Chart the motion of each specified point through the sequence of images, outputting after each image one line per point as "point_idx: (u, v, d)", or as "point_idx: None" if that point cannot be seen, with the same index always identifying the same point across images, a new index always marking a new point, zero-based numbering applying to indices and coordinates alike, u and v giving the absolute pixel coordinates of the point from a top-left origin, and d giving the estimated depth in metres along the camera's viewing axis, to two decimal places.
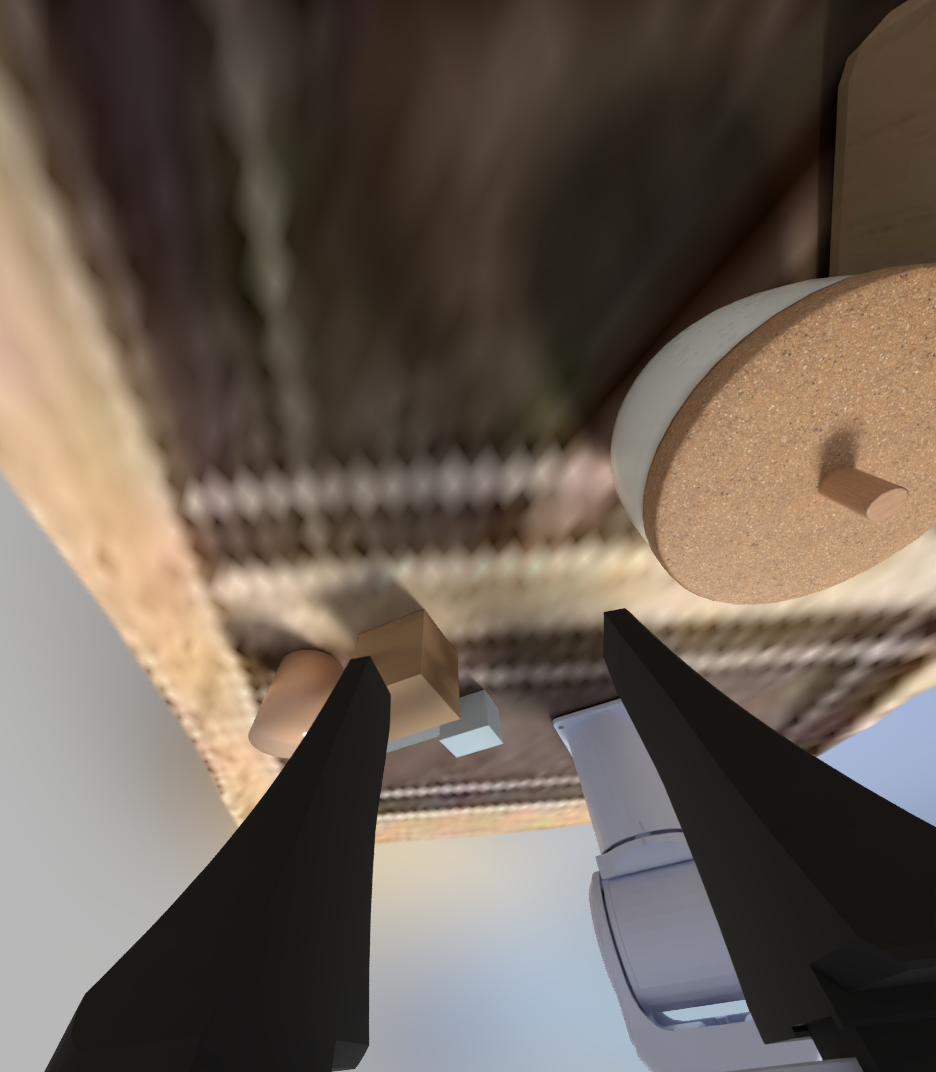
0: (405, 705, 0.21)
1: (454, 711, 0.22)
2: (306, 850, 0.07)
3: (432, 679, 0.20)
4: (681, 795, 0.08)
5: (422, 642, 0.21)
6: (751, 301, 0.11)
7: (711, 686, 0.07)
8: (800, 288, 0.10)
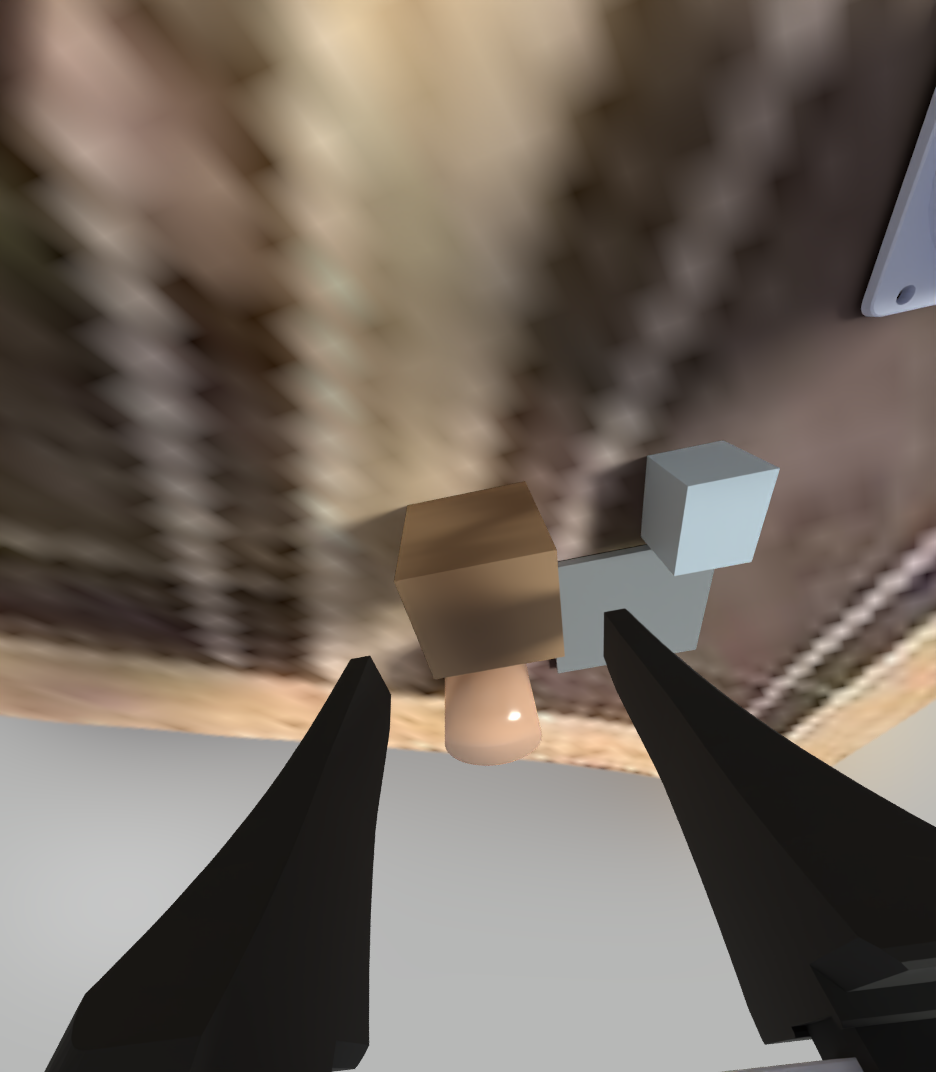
0: (473, 617, 0.12)
1: (529, 553, 0.11)
2: (306, 850, 0.07)
3: (436, 563, 0.11)
4: (681, 795, 0.08)
5: (401, 541, 0.13)
6: None
7: (711, 686, 0.07)
8: None
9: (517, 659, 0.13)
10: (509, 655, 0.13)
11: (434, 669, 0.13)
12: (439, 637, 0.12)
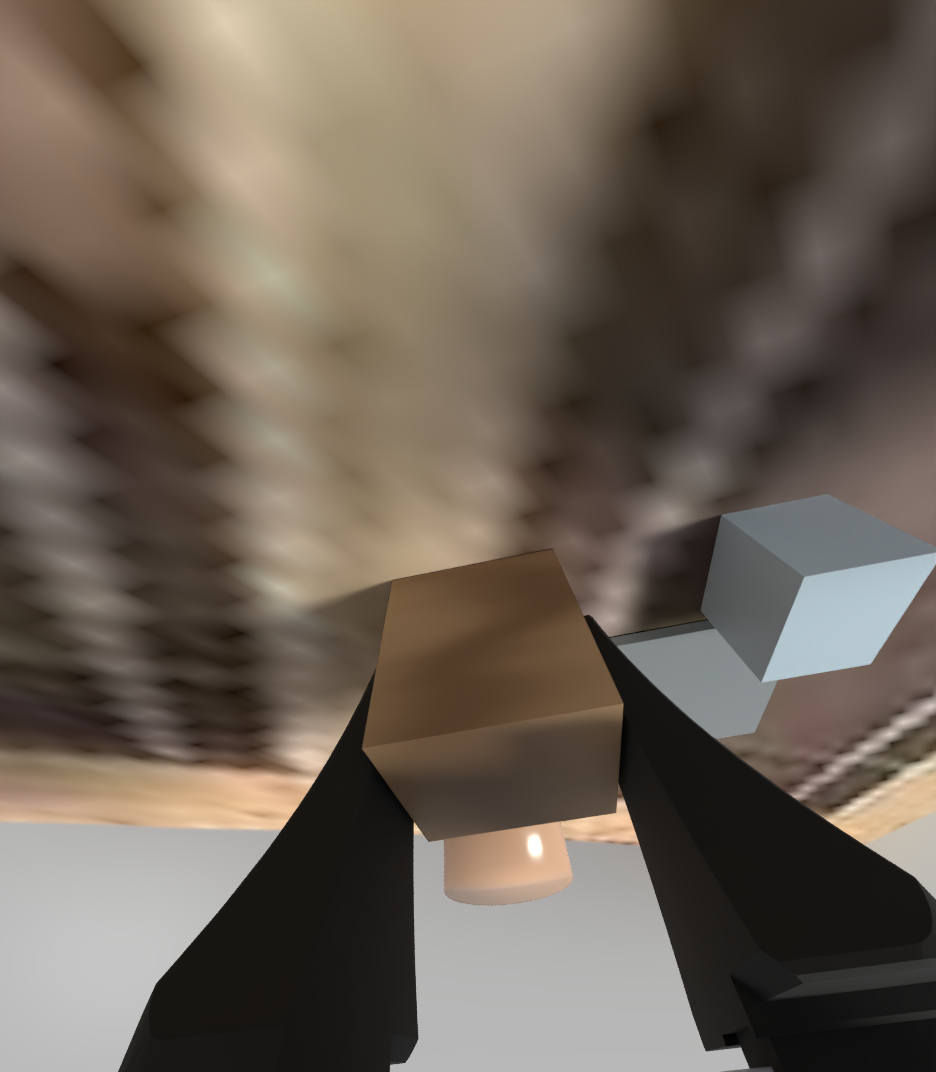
0: (486, 781, 0.08)
1: (579, 707, 0.07)
2: (360, 842, 0.06)
3: (430, 712, 0.07)
4: (634, 802, 0.08)
5: (379, 656, 0.09)
6: None
7: (661, 695, 0.07)
8: None
9: (548, 818, 0.09)
10: (536, 815, 0.09)
11: (428, 832, 0.09)
12: (436, 802, 0.08)
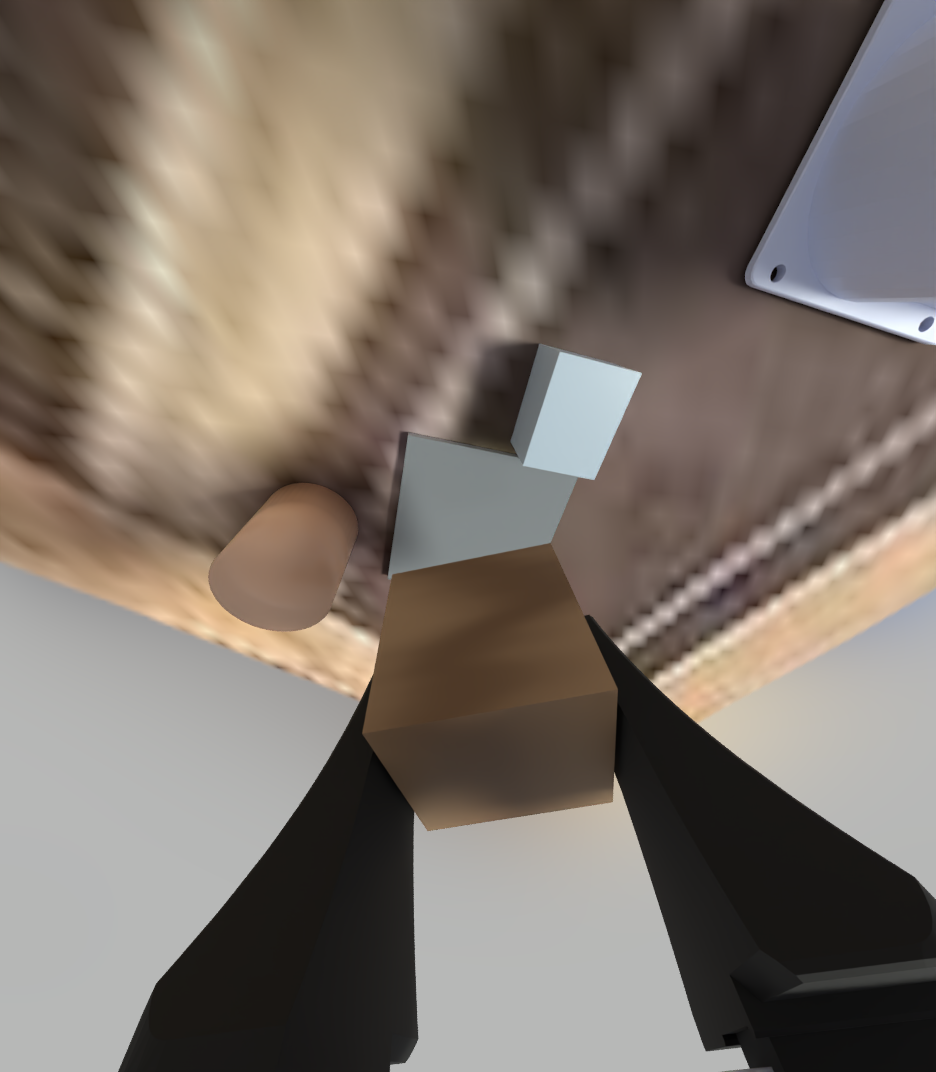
0: (484, 768, 0.08)
1: (574, 693, 0.07)
2: (360, 842, 0.06)
3: (430, 698, 0.07)
4: (634, 802, 0.08)
5: (379, 646, 0.09)
6: None
7: (661, 695, 0.07)
8: None
9: (545, 807, 0.09)
10: (534, 804, 0.09)
11: (427, 821, 0.09)
12: (434, 790, 0.08)
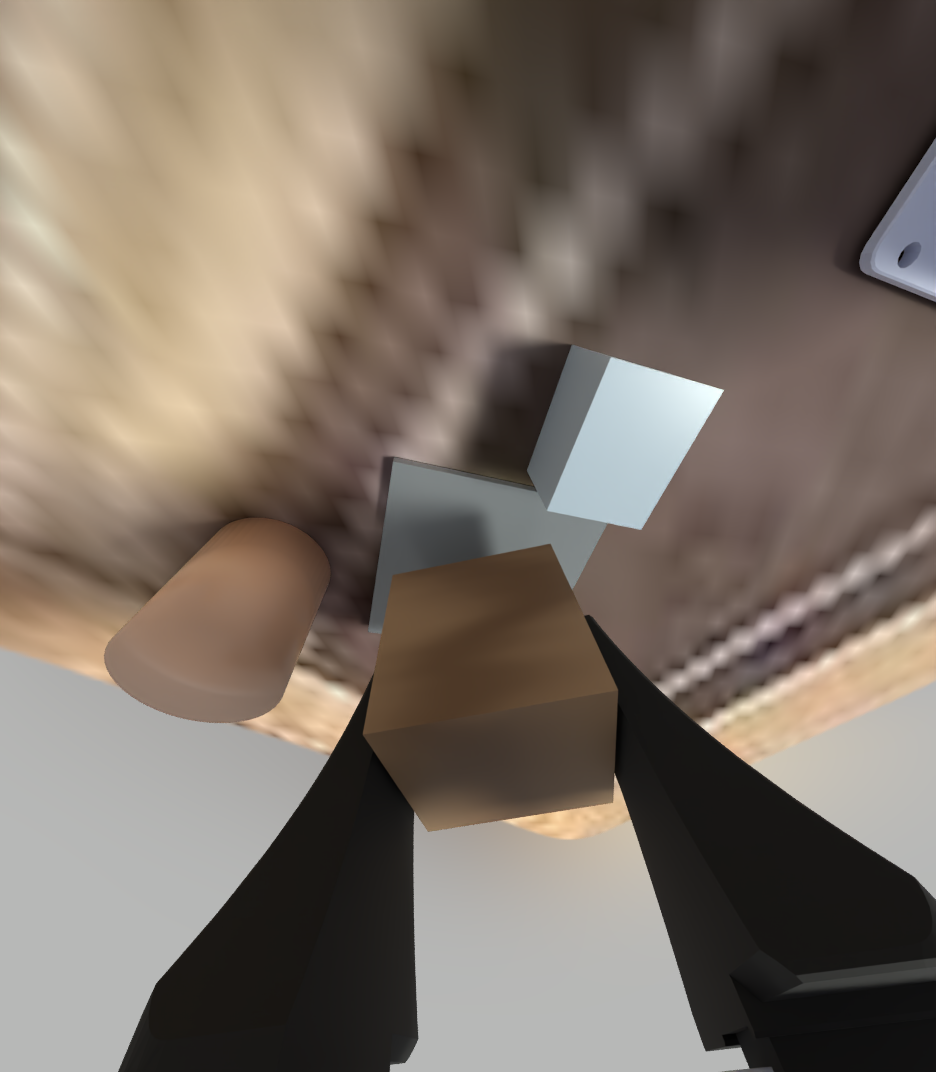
0: (485, 769, 0.08)
1: (575, 694, 0.07)
2: (360, 842, 0.06)
3: (430, 700, 0.07)
4: (634, 803, 0.08)
5: (380, 647, 0.09)
6: None
7: (661, 695, 0.07)
8: None
9: (546, 808, 0.09)
10: (534, 804, 0.09)
11: (428, 822, 0.09)
12: (435, 791, 0.08)
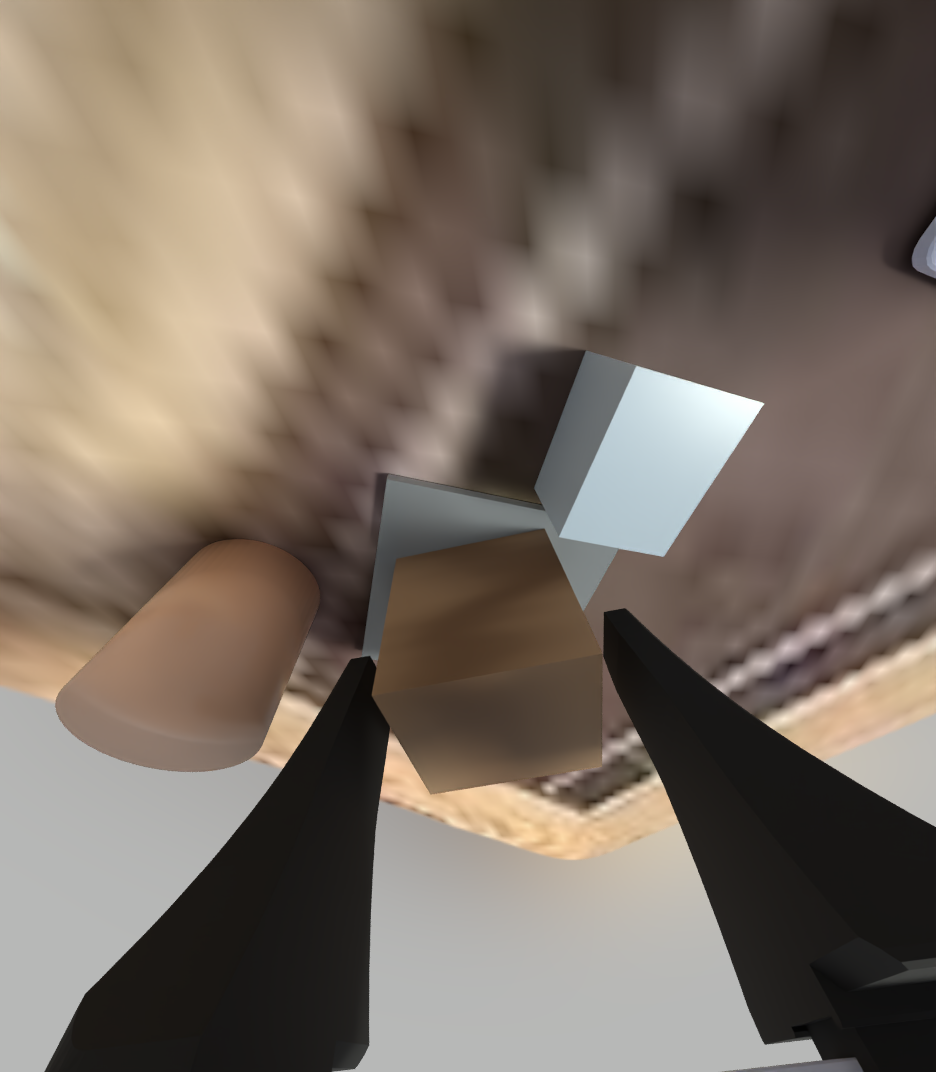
0: (483, 731, 0.09)
1: (563, 658, 0.08)
2: (306, 850, 0.07)
3: (432, 665, 0.08)
4: (681, 795, 0.08)
5: (385, 621, 0.10)
6: None
7: (711, 686, 0.07)
8: None
9: (539, 771, 0.10)
10: (529, 767, 0.10)
11: (430, 784, 0.10)
12: (437, 752, 0.09)
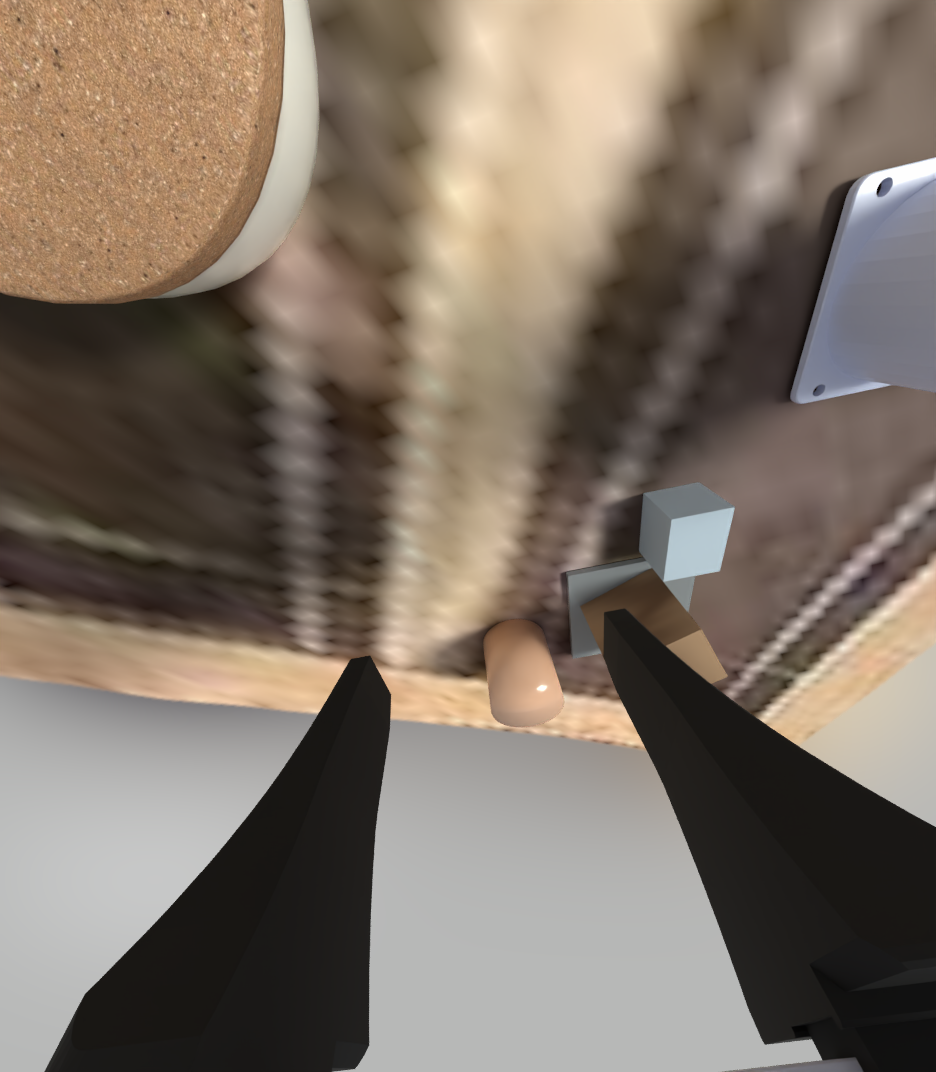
0: None
1: (685, 635, 0.18)
2: (306, 850, 0.07)
3: None
4: (681, 795, 0.08)
5: (596, 640, 0.21)
6: None
7: (711, 686, 0.07)
8: None
9: None
10: None
11: None
12: None
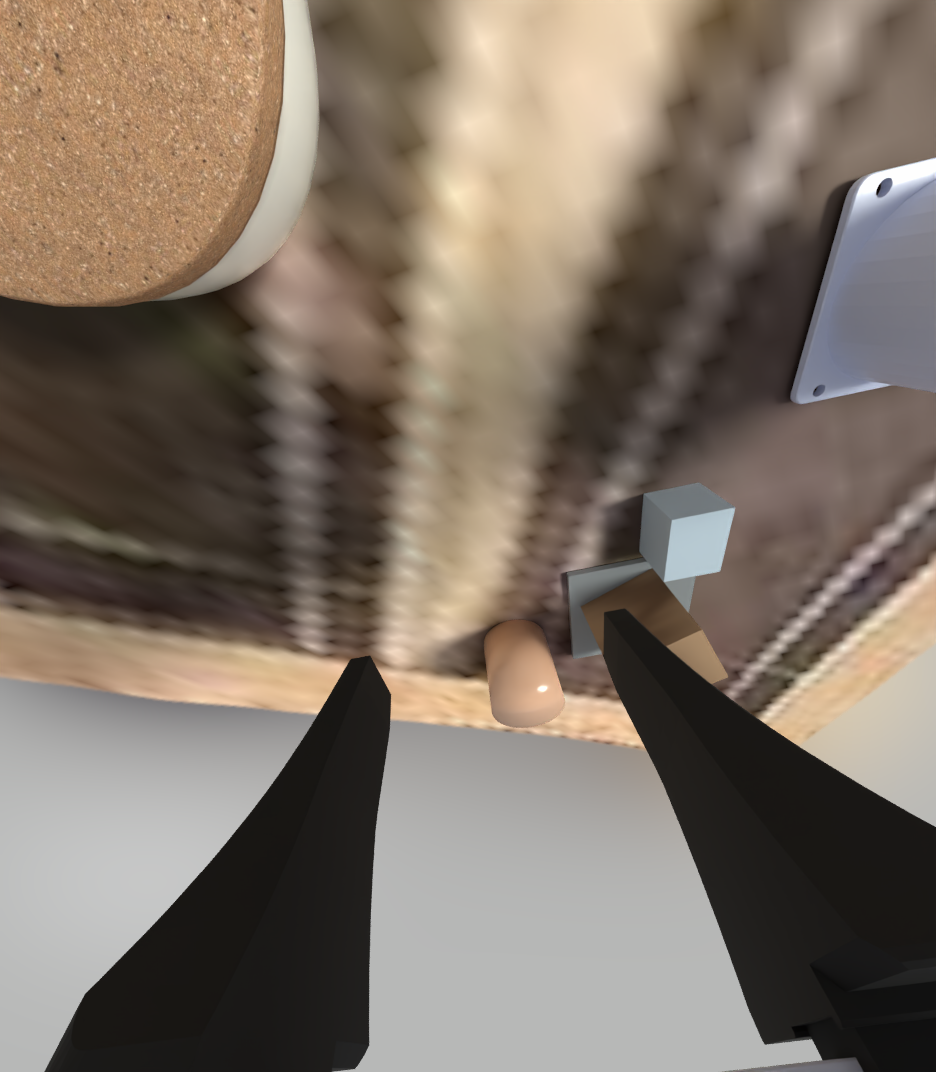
0: None
1: (685, 635, 0.18)
2: (306, 850, 0.07)
3: None
4: (681, 795, 0.08)
5: (596, 640, 0.21)
6: None
7: (711, 686, 0.07)
8: None
9: None
10: None
11: None
12: None
